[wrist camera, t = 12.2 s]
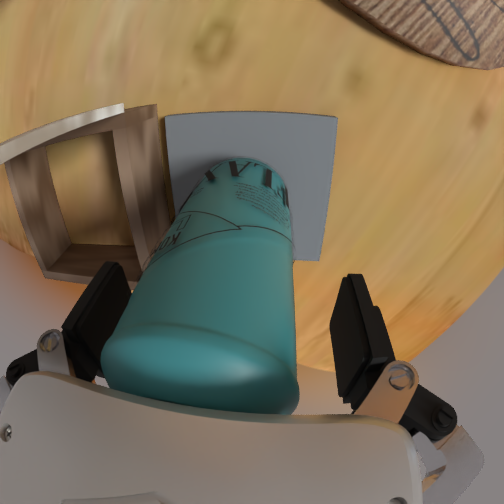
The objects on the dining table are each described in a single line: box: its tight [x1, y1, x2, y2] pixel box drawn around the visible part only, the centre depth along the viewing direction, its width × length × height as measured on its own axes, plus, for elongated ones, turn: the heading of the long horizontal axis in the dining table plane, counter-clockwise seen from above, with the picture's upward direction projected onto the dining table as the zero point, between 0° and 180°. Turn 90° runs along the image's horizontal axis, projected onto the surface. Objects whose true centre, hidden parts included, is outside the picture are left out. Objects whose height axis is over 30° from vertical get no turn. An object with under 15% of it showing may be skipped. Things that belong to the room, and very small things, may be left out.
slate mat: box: [165, 111, 338, 261], centre depth 20 cm, size 12×12×1 cm
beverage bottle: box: [100, 156, 299, 415], centre depth 12 cm, size 6×7×20 cm
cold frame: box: [0, 103, 171, 290], centre depth 15 cm, size 15×14×15 cm
